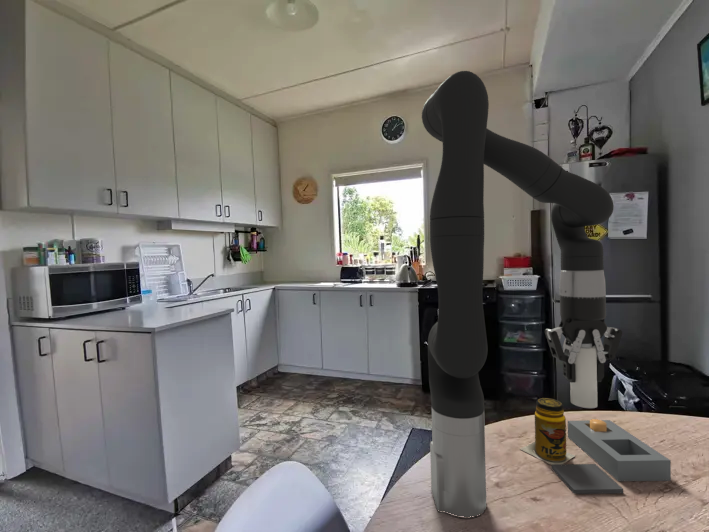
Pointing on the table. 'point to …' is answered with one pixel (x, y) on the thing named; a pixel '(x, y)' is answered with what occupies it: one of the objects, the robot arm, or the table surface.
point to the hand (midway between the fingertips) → (583, 380)
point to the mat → (586, 479)
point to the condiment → (549, 433)
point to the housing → (620, 452)
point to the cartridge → (585, 377)
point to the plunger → (598, 425)
